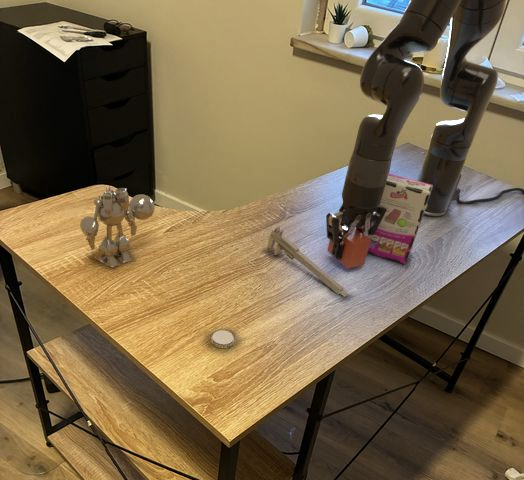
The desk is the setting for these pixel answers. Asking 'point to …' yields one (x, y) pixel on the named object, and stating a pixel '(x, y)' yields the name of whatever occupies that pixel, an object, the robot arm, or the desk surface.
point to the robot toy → (115, 223)
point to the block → (353, 249)
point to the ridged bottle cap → (222, 338)
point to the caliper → (301, 259)
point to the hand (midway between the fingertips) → (346, 255)
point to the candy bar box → (399, 218)
